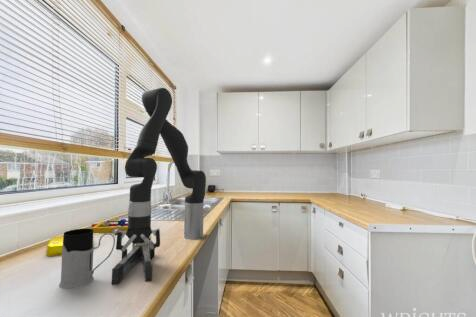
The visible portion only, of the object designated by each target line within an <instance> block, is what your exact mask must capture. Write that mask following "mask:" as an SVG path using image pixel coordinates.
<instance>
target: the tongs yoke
mask: <svg viewBox="0 0 476 317" xmlns="http://www.w3.org/2000/svg"><path fill="white" fill-rule="evenodd" d="M135 246H140V259H142V246H147V247H148V249H149V245H147V244H146V243H145V244H135Z"/></svg>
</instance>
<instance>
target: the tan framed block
mask: <svg viewBox="0 0 476 317" xmlns="http://www.w3.org/2000/svg"><path fill="white" fill-rule="evenodd" d="M149 237H150V239H151V240H152V235H150V236H149ZM145 243H146V242H144V243H136V244H145ZM131 244H132V248H131V250H132V249H133V248H134V247H135V245H136V244H134V243H131ZM150 249H151V248H150V247H149V248H148V251H149V255H150Z"/></svg>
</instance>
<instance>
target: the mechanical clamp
mask: <svg viewBox="0 0 476 317" xmlns="http://www.w3.org/2000/svg"><path fill="white" fill-rule="evenodd" d="M90 229H93V233H99V234H106V233H110V234H112V235H117V233H118V232H119V231H120V230H122V231H127V230H128V220H127V219H126V218H122V219H120V220H107V219H106V220H103V221H100V222H99V223H92V224H91V228H90Z"/></svg>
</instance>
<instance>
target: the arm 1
mask: <svg viewBox="0 0 476 317" xmlns="http://www.w3.org/2000/svg"><path fill="white" fill-rule="evenodd" d="M140 259H141V258H140V246H135V247H134V248H133V249H132V248H131V250H130V251H129V252H127V255H126V256H125V257H124V258H123V259H122V258H121V260H120V261H119V262H117V263H116V264H115V266H114V267H113V268H112V269H111V285H117V286H118V285H119V284H120V282H122V280H123V279H124V278H125V277H126V276H127V274H128V273H129V272H130V270H132V269H133V267H134V266H136V264H137V263H138V261H139V260H140Z"/></svg>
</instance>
